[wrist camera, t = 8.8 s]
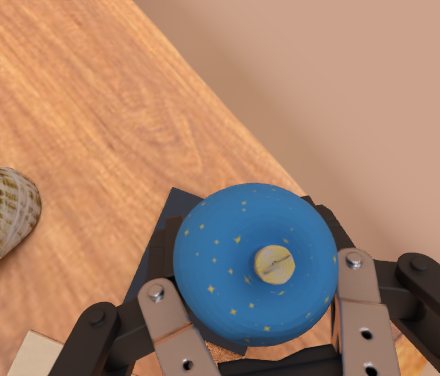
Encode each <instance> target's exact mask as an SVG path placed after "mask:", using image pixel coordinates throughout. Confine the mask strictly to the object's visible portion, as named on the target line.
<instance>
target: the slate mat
mask: <svg viewBox="0 0 440 376" xmlns="http://www.w3.org/2000/svg"><path fill="white" fill-rule="evenodd" d="M203 200H204V199H203V198H200V197H198V196H195V195H192V194H190V193H187V192H185V191H182V190H179V189H177V188H174V187H172V190H171V192H170V194H169V197H168V199H167V201H166V204H165V206H164V208H163V211H162V213H161V215H160V218H159V220H158V222H157V225H156V227H155V229H154V232H153V234H154V233H155V231H156V230H161V229H165V225H166V217H173V216H179V215H182V216H183V220H184V219H185V218H186V216H187V215H188V214H189V213H190V211H191V210H192V209H193V208H194V207H196V206H197V205H198V204H199V203H200V202H201V201H203ZM153 234H152V236H153ZM152 236H151V237H152ZM150 240H151V239H150ZM149 249H150V241H149V244H148V246H147V248H146V251H145V253H144V255H143V258H142V260H141V262H140V265H139V267H138V269H137V272H136V274H135V276H134V279H133V281H132V283H131V286H130V288H129V290H128V293H127V295H126V297H125V300H124V302H123V304H124V303H126V302H129V301H131V300H132V299H134V298H135V297H137V296H138V293H139V290H140V289H141V288H142V286H143V285H144V284H145V283H146V276H147V267H148V258H149ZM188 315H189V317H190V319H191V321H192V322H194V323H195V324H196V326H197V328H198V330H199V332H200V334H201V336H202V338H203V340H206V341H208V342H210V343H213V344H215V345H218V346H220V347H222V348H225V349H227V350H230V351H232V352H234V353H237V354H239V355H242V356H244V355H245V352H246V349H247V346H245V345H240V344H236V343H234V342H231V341H229V340H227V339H225V338H223V337H221V336H219V335H217V334H216V333H214V332H213V331H211V330H210V329H209V328H208V327H207V326H206V325H204V324H203V323H202V322H201V321H200V320H199V319H198V318H197V317H196V316H195V314H194V313H193V312H192V314H188Z"/></svg>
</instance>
